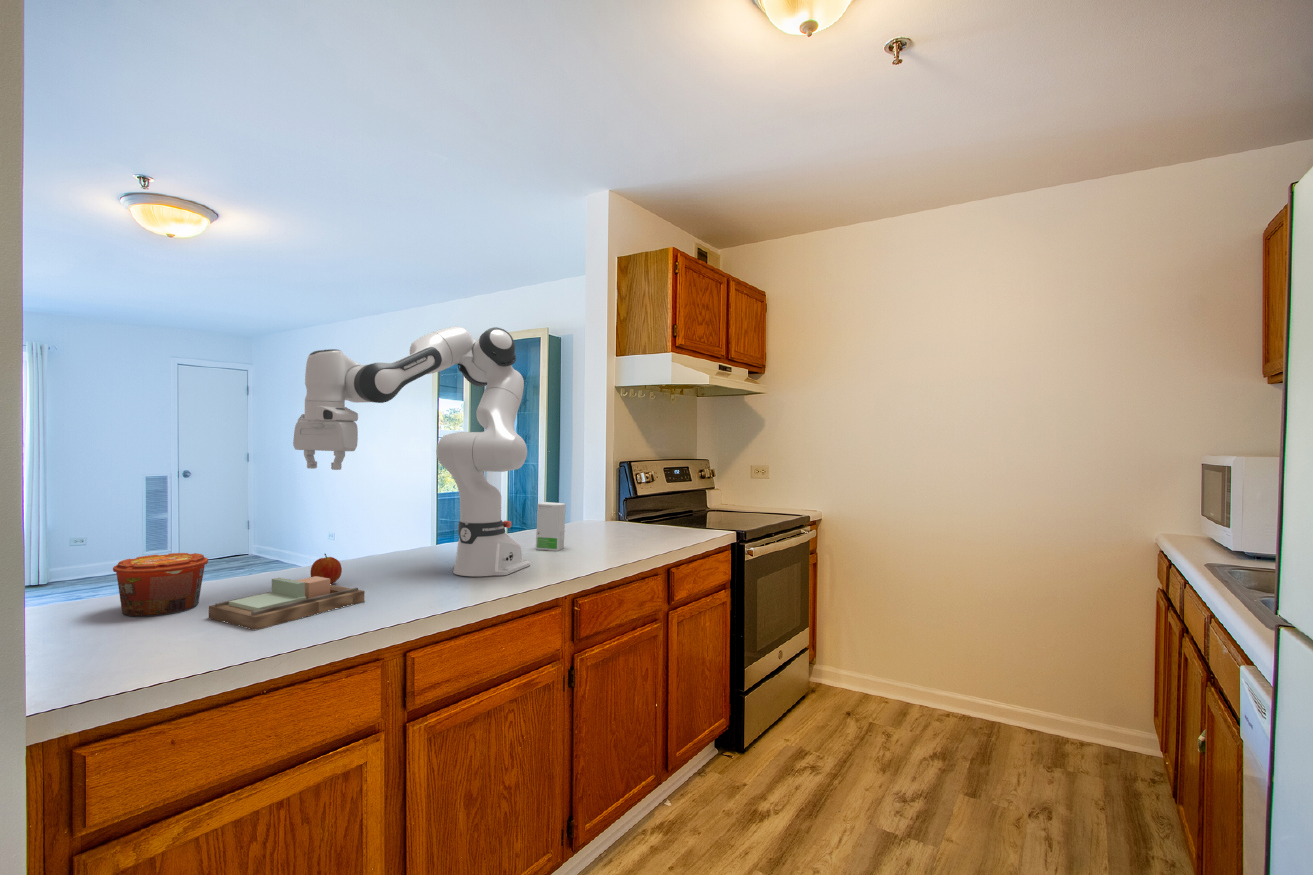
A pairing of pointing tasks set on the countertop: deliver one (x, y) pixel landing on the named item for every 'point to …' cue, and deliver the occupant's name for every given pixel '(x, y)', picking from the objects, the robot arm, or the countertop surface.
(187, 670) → the countertop surface
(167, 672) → the countertop surface
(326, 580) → the terracotta block
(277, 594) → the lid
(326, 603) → the puzzle board
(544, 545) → the skincare box
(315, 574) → the fruit
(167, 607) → the food container
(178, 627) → the countertop surface
